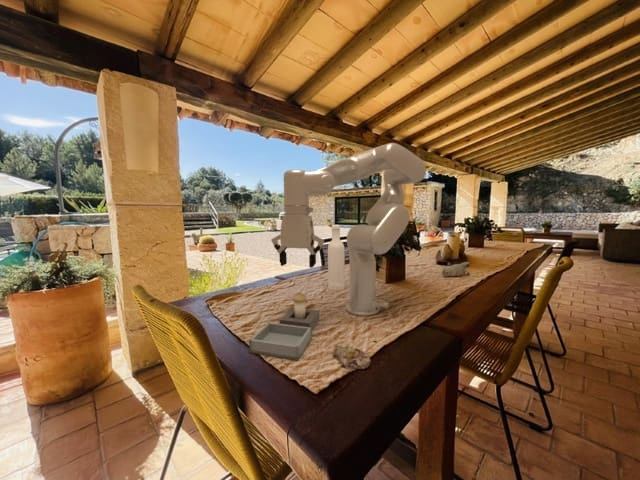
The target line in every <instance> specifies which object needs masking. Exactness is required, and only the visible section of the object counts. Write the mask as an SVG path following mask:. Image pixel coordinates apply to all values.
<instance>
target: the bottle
mask: <svg viewBox="0 0 640 480" xmlns="http://www.w3.org/2000/svg"><path fill="white" fill-rule="evenodd" d="M340 226H341V225H340V224H332V225H331V240H330V242H328V246H327V283H328V284H327V286H328V290H329V291H333V292H339V291H344V290H345V287H346V281H345V280H346V277H345V273H346V272H345V245H344V242H342V241H341V236H340V235H341V232H340V231H341V227H340Z"/></svg>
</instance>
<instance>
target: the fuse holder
mask: <svg viewBox="0 0 640 480" xmlns="http://www.w3.org/2000/svg"><path fill="white" fill-rule="evenodd" d="M305 311H306V319H298V318H295V314H294V307H291V308H290V309H289V310H288V311H287V312H285V314H283V316H281V317H280V318H279V320H278V321H279V324H286V325H294V326H302V327H311V328H312V331H314V329H315V327H316V326H317V324H318V323H319V322H320V310H319V309H318V310H316V309H310V308H309V309H307V308H305Z"/></svg>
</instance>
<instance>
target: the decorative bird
mask: <svg viewBox="0 0 640 480" xmlns="http://www.w3.org/2000/svg"><path fill="white" fill-rule="evenodd" d="M468 264H470V262H469V261H465V262H462V263H456V264H452V265H447V266H445V267H444V268H443V269H442V272H441V273H442V277H443V278H446V277H447V276H451V277H456V276H457V277H458V276H460V275H462V274H463V275H464V274H466V273H467V275H470V272H468V271H467V266H468Z"/></svg>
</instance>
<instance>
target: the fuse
mask: <svg viewBox="0 0 640 480" xmlns="http://www.w3.org/2000/svg"><path fill="white" fill-rule="evenodd" d="M292 298H293V299H292V301H293V306H294V307H293V308H294V314H295V318H298V319H306V311H305V309H306V301H307V299H306V298H307V297H306V294H304V293H296V294H294V295H293V297H292Z"/></svg>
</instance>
